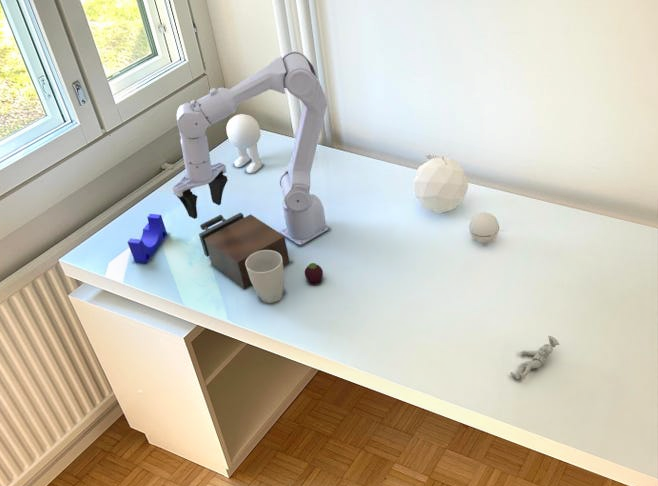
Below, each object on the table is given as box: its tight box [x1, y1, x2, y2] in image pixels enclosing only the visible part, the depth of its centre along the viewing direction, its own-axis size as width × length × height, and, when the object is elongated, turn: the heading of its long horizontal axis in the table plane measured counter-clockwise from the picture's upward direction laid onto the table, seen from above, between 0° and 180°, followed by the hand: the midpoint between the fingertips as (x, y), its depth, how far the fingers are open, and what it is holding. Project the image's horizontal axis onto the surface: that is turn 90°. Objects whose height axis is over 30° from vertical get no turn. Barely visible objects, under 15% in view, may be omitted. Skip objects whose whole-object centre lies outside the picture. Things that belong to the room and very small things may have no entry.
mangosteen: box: [304, 262, 324, 286], centre depth 171 cm, size 4×4×4 cm
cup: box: [245, 250, 285, 304], centre depth 166 cm, size 8×8×10 cm
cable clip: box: [127, 213, 168, 264], centre depth 182 cm, size 12×4×6 cm, turn 168°
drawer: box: [198, 212, 245, 257], centre depth 178 cm, size 17×12×6 cm
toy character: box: [226, 113, 263, 174], centre depth 205 cm, size 9×9×15 cm
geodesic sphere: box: [412, 154, 469, 214], centre depth 187 cm, size 15×14×14 cm
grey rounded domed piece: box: [468, 211, 503, 244], centre depth 179 cm, size 10×7×7 cm
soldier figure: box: [510, 335, 560, 380], centre depth 150 cm, size 8×5×12 cm
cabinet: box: [205, 214, 290, 290], centre depth 175 cm, size 13×13×8 cm
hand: (205, 210), depth 174 cm, fingers open, 7 cm apart
